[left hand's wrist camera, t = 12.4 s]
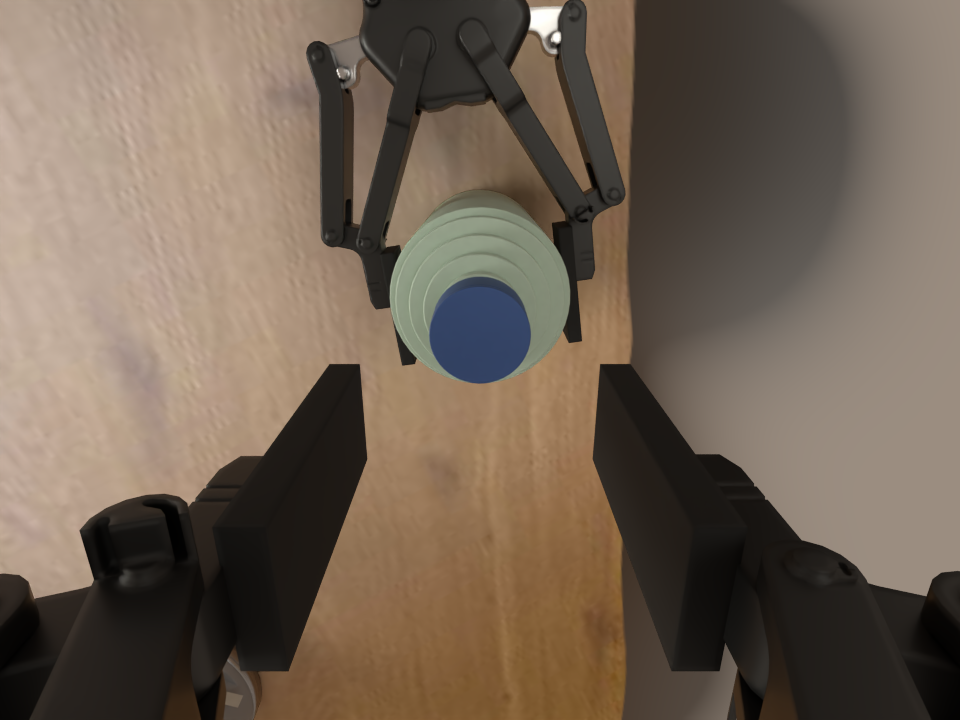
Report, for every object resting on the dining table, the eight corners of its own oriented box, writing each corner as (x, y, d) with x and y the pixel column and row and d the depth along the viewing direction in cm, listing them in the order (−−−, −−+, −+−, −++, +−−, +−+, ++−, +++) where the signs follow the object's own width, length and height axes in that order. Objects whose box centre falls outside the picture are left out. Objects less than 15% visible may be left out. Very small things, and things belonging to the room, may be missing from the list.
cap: (543, 340, 22) (548, 355, 21) (462, 382, 23) (460, 399, 21) (499, 258, 21) (501, 267, 20) (415, 304, 22) (409, 316, 20)
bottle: (561, 276, 39) (626, 374, 21) (457, 331, 40) (439, 465, 23) (505, 165, 36) (528, 174, 19) (396, 228, 38) (324, 290, 20)
